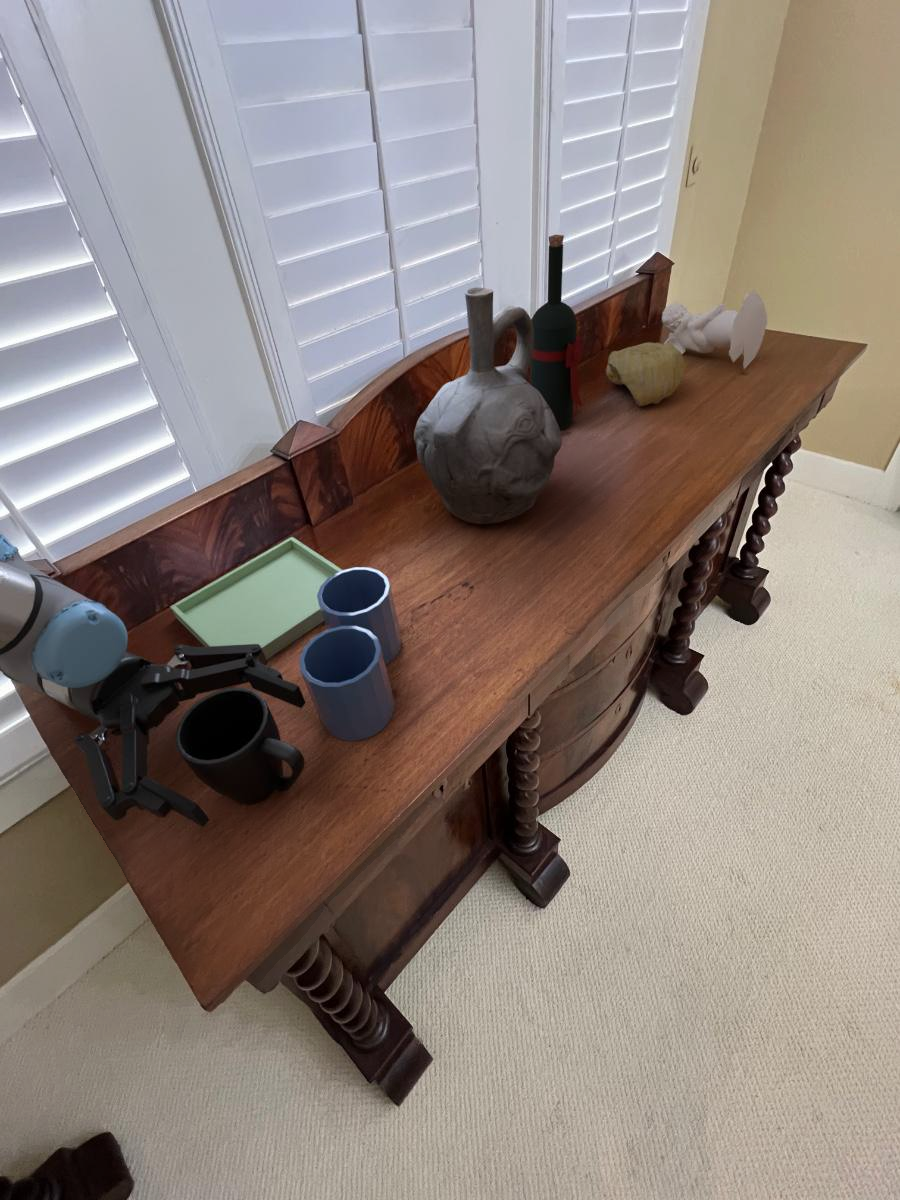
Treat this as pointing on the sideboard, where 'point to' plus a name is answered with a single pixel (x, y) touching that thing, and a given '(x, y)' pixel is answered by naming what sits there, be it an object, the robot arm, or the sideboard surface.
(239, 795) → the mug
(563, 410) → the wine bottle
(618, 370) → the seashell
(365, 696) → the blue cup front
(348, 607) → the blue cup back
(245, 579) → the tray
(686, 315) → the angel figurine
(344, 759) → the sideboard surface
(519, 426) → the vessel
